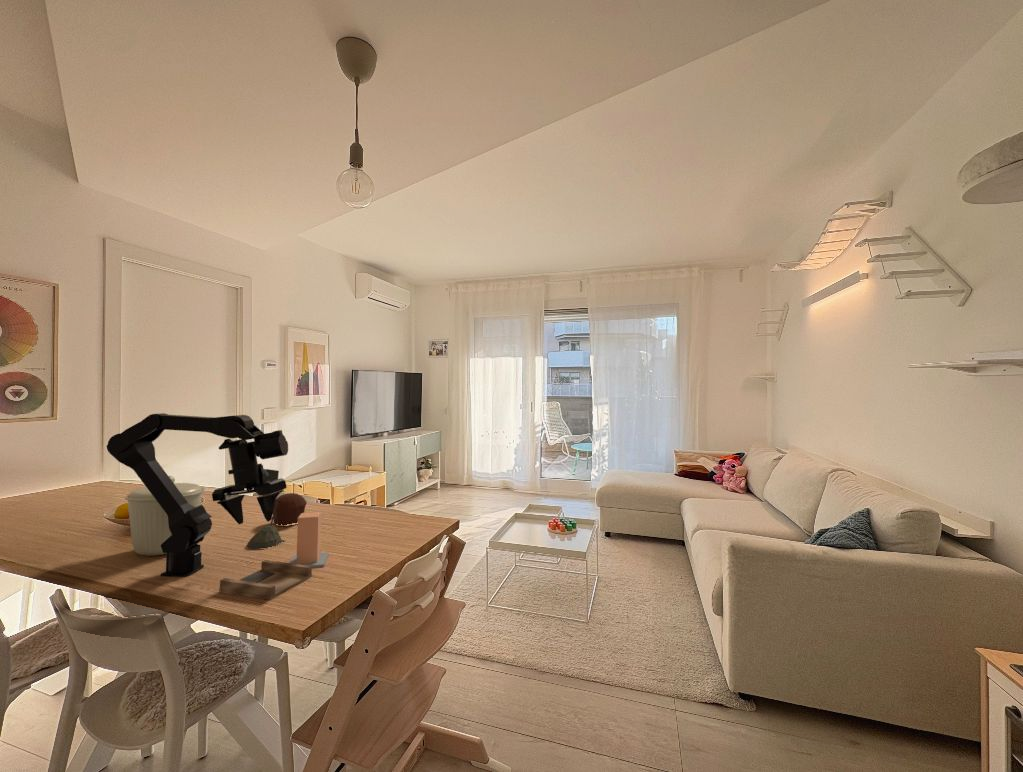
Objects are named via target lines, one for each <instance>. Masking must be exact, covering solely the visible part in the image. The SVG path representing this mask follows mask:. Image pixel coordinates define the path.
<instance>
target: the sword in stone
mask: <svg viewBox="0 0 1023 772" xmlns="http://www.w3.org/2000/svg"><path fill="white" fill-rule="evenodd" d="M277 504H278V502H276V506H275V510H276V507H277ZM275 510H274V512H273V514H272V519H271V520H270V524H269V525H266V526H264V527H262V528H261V529H259V530H258V531H257V532H256V533H255V534H254V535H253V536H252V537H251V538H250V539H249V541H248V542H247V544H246V545H245V548H246V547H248V548H250V549H251V550H261V549H260V548H266V549H269V548H268V547H271V548H273V547H272V546H275V547H277V546H279V545H280V544H279V543H281V542H283V541H284V540H285V539H282V537H281V535H280V533H279V531H278V529H277V527H276V525H274V524H273V523H274V520H275V519H274V515H275ZM275 517H276V515H275ZM283 543H284V542H283ZM278 544H279V545H278ZM281 544H282V543H281ZM276 545H277V546H276ZM248 548H247V549H248ZM250 549H249V550H250Z"/></svg>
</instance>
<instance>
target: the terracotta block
mask: <svg viewBox="0 0 1023 772" xmlns="http://www.w3.org/2000/svg"><path fill="white" fill-rule="evenodd" d="M296 531H297V533H296V555H297V563H296V564H301V563H314V562H317V561H318V559H319V557H320V553H321V542H322V540H321V538H322V537H321V536H322V534H321V533H322V511H315V512H313V511H312V512H304V513H301V515H300V516H299V517H298V524H297V530H296Z"/></svg>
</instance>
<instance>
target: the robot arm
mask: <svg viewBox="0 0 1023 772" xmlns="http://www.w3.org/2000/svg"><path fill="white" fill-rule="evenodd" d="M165 430H166V431H183V432H184V431H185V432H201V433H202V432H203V433H208V434H209V433H210V434H212V435H216V436H218V437H223V438H226V439H224V441H223V442H222V443H221V444H220V446H218V449H219V450H225V449H228V454H229V458H230V464H231V469H229V470H227V471H228V475H233V482H234V484H229V485H226V486H223V487H220V488H215V489H214V490H213V491H212V494H211V496H212V502H216V503H217V505H220V506H221V507H222V508H223V509H224V510H225V511H226V512H227V513H228V514H229V515H230V516H231V517H232V518H233V519H234V521H235V522H236V523H237V524H238V525H241V524H243V523H244V512H243V504H242V502H243V499H244V497H245V495H246V494H253V493H256V494H257V495H258V496H257V497H256V499H257V503H258V505H259V507H260V509H261V511H262V514H263V517H264V519H265V521H266V522H271V520H272V517H273V515H272V514H273V509H274V504H275V501H276V499H277V498H278V497H279V496H280V494H281V493H283V491H284V490H285V489H287V488H288V487H287V483H286V480H285V479H283V478H281V477H280V478H279V473H280V471H279V470H277V469H276V470H275V469H267V468H265V467H264V465H263V464H262V463H258V459H257V458H260V459H261V460H268V459H273V458H279V457H284V456H287V455H288V452H289V442H288V441H287V439H286V436H285V435H284V434H283V430H282V429H279V430H274V431H271V432H264V431H262V430H261V429H260V428H259V427H257V425H255V422H254V420H253V419H252V417H251V416H249V415H246V414H238V415H228V416H216V417H213V416H195V415H180V414H169V413H164V412H163V413H152V414H149V415H147V416H146V417H144V418H143V419H142V420H140V421H138V422H137V423H136V424H133V425H132V426H130V427H128V428H126V429H124V430H123V431H122V432H120V433H116V434H114V435H112V436H111V437H110V438H109V439H108V442H107V445H106V450H107V452H108V453H109V454H110V455H111V456H112V457H113V458H114V459H115V460H116V461H118V462H119V463H121V464H122V465H124V466H125V467H128V468H130V469H132V470H133V471H134V473H135V474H136V475H137V476H138V478H139V479H140V481H141V482H142V483H143V485H144V487H147V489H148V490H149V491H150V493H151V494H152V495H153V497H154V498H155V499H156V501H157V502H158V503H159V505H160V506H161V507H162V509H163V510H164V511H165V513H166V514H167V516H168V525H169V530H170V532H171V534H172V535H171V536H170V537H169V538H168V539H167V540H166V541H164V542H163V543H162V544H161V548H162V551H163V553H167V554H165V557H166V559H165V561H166V562H165V571H163V572H161V573H160V577H188V576H189V575H191V574H193V573H196V571H199V570H201V569H202V568H204V567H205V564H202V556H203V555H202V551H201V544H200V543H201V542H203V541H204V539H205V538H206V537H205V536H207V534H208V533H210V531H211V530H212V526H213V521H212V519H211V518H212V517H213V516H212V515H211V514H209V513H208V512H207V510H206V508H205V506H204V505H203V504H201V505H200V506H197V507H194V506H192V505H190V504H189V503H188V502H187V501H186V499H185V498H184V497H183V495H182V494H181V493H180V491H179V490H178V489H177V487H176V486H175V484H174V483H175V482H174V483H173V482H172V480H171V479H170V478H169V476H170V475H168V473H167V472H166V471H165V470H164V469H163V466H161V464H160V463H159V461H158V460H157V459H156V450H155V449H156V448H155V446H154V443H153V442H155V441H156V440H157V439H158V438H159V437H160V436H161V435H162V434H163V433H164V431H165ZM233 439H236V440H233ZM249 440H253V441H249Z"/></svg>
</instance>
